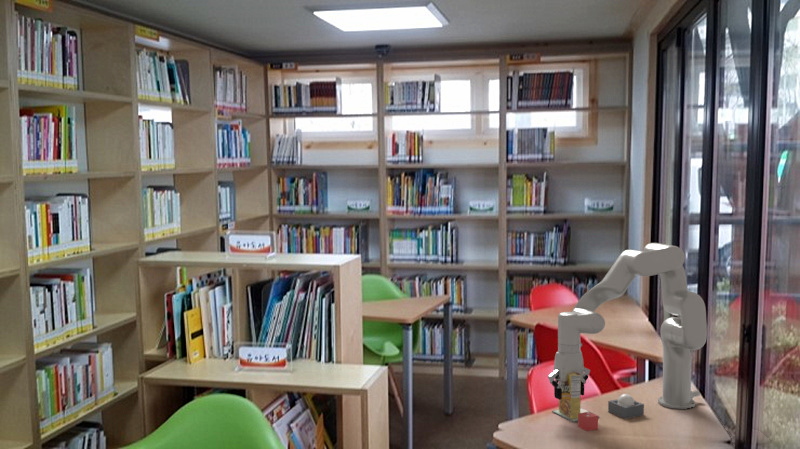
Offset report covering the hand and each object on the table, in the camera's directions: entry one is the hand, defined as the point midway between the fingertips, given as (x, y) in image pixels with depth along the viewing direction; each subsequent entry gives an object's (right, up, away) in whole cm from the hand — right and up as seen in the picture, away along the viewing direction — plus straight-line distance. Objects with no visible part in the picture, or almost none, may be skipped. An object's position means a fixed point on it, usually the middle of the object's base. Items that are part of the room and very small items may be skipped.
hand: (569, 396), depth 245 cm
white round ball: (+20, -5, +2) cm, 21 cm away
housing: (+20, -7, +2) cm, 22 cm away
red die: (+4, -8, -11) cm, 14 cm away
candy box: (0, -7, +1) cm, 7 cm away
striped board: (+2, -7, +2) cm, 7 cm away
